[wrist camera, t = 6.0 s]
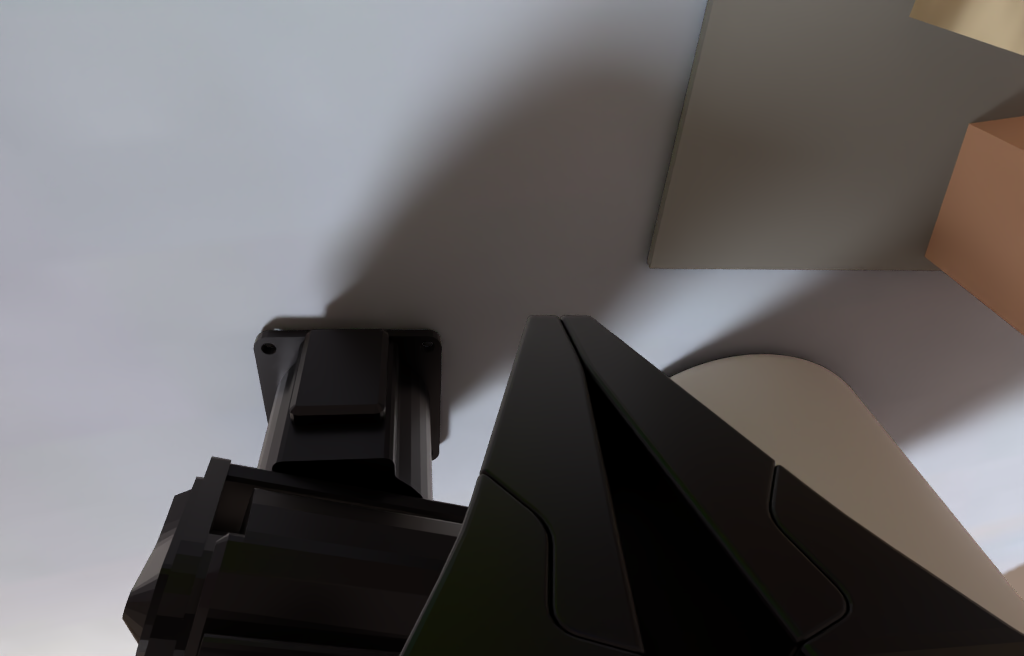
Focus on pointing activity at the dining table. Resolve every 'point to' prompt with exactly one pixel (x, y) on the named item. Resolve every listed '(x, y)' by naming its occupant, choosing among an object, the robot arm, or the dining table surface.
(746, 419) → the cylinder vase
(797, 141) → the mat
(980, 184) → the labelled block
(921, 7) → the plain block
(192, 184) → the dining table surface
